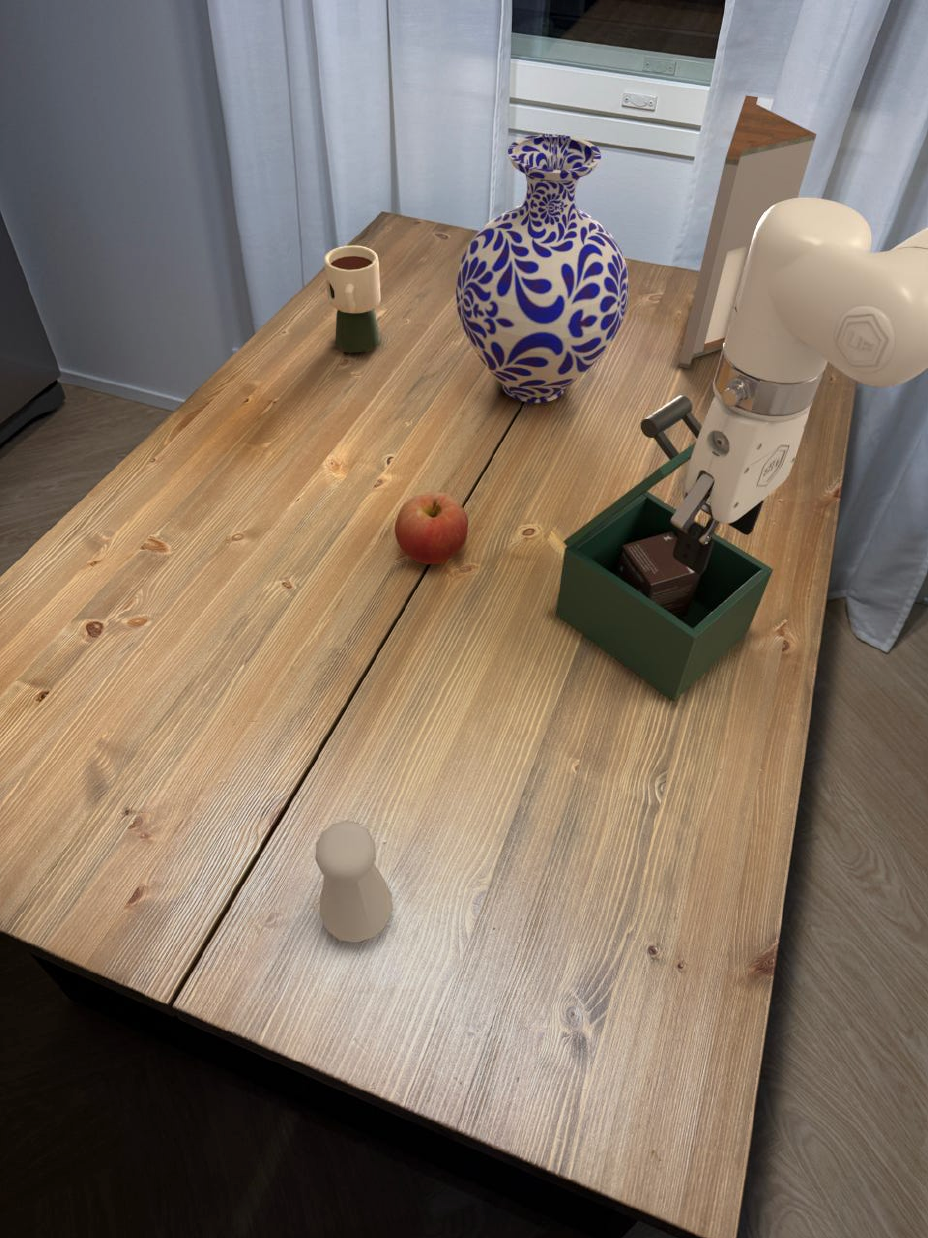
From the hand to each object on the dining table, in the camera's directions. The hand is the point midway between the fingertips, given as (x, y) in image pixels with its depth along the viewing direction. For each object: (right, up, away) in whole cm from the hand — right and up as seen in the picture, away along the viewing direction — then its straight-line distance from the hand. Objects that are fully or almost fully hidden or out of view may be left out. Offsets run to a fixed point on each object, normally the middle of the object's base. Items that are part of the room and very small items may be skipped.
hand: (712, 543), depth 81 cm
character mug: (-38, +32, +46) cm, 68 cm away
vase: (-13, +25, +41) cm, 50 cm away
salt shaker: (-31, -31, -8) cm, 45 cm away
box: (-3, -5, +14) cm, 15 cm away
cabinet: (+15, +35, +50) cm, 63 cm away
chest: (-3, -7, +13) cm, 15 cm away
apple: (-26, +1, +19) cm, 32 cm away
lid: (-5, +6, +1) cm, 8 cm away
